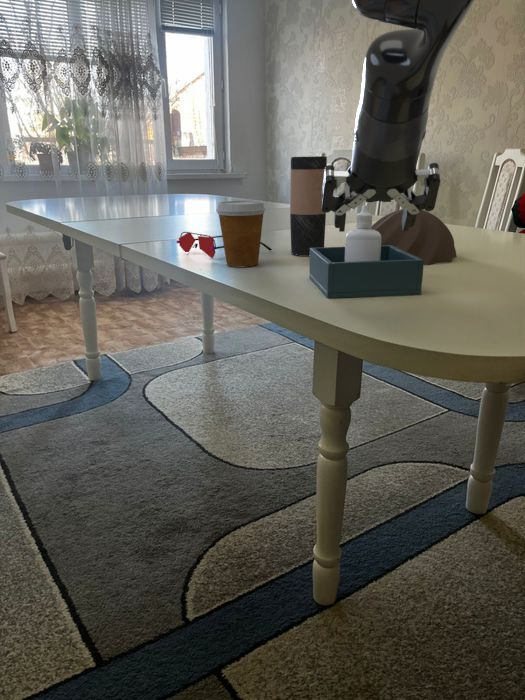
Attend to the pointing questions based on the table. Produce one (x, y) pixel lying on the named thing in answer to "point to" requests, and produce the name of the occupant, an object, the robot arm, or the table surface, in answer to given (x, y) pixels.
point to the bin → (365, 273)
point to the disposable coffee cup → (241, 231)
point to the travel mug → (307, 204)
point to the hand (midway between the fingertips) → (372, 226)
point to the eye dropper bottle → (363, 240)
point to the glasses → (201, 243)
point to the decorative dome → (418, 236)
